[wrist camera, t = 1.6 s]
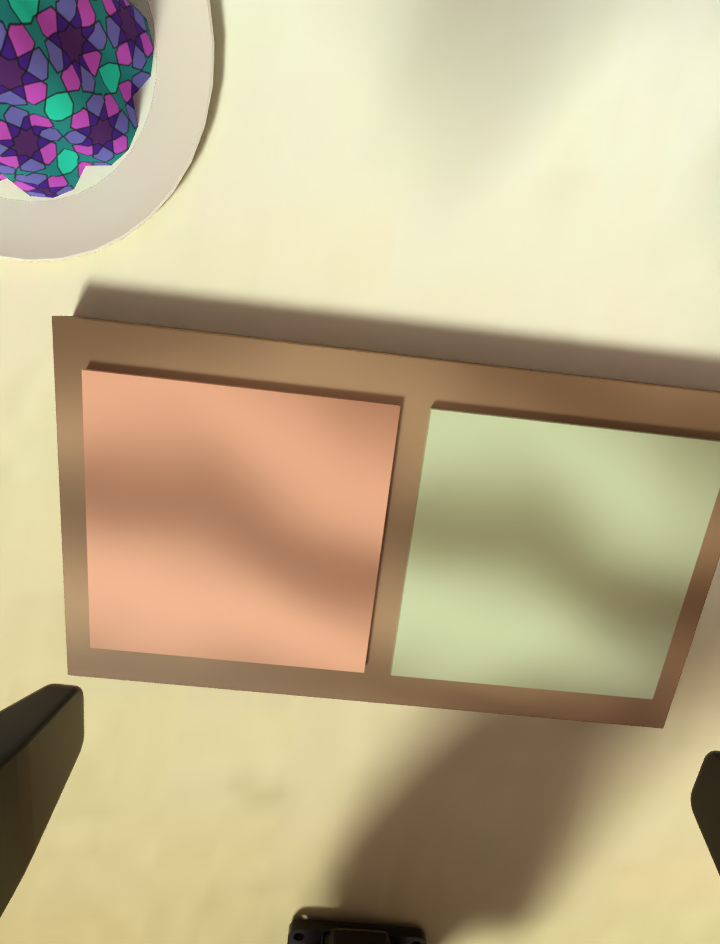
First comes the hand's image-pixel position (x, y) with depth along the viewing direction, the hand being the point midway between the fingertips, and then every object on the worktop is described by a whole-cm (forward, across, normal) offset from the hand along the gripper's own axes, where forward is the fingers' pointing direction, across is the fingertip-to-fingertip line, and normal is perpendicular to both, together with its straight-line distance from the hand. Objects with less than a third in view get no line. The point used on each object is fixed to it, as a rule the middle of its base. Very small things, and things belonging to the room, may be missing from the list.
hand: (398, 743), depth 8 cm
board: (+12, -1, +2) cm, 12 cm away
